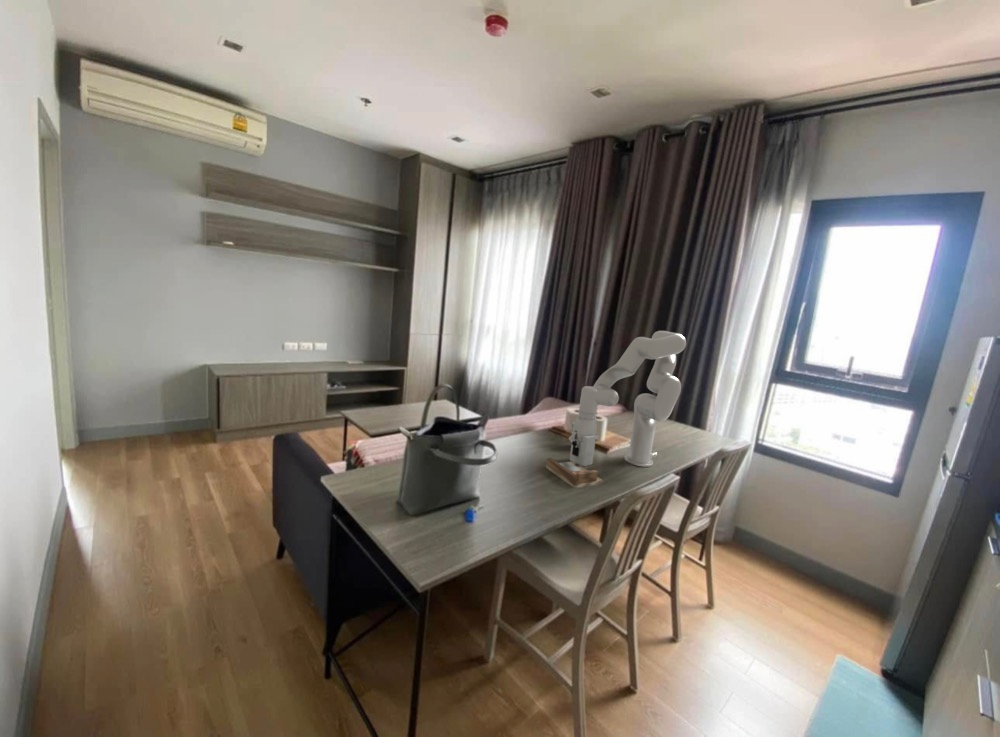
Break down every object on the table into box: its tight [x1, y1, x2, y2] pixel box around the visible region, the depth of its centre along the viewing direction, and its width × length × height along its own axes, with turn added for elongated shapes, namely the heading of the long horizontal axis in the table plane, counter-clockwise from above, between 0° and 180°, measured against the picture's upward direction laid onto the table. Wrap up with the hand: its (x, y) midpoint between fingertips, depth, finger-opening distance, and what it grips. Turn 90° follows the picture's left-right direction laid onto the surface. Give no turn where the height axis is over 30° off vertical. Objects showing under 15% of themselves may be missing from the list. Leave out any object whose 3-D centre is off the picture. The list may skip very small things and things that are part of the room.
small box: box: [569, 435, 597, 468], centre depth 179 cm, size 8×6×13 cm
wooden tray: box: [545, 457, 604, 489], centre depth 166 cm, size 14×19×5 cm
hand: (581, 453), depth 180 cm, fingers closed on small box, 7 cm apart
